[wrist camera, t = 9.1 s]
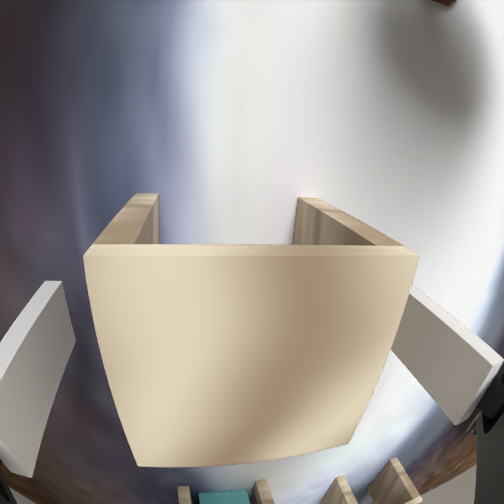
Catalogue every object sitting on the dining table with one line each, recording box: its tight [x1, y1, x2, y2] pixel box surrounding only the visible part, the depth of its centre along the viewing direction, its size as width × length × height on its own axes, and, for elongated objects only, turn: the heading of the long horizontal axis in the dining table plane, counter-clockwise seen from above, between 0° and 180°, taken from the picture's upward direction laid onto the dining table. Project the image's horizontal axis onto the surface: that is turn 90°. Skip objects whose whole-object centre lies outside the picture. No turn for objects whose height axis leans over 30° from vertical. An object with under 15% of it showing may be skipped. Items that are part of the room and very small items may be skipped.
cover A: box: [83, 193, 419, 467], centre depth 11 cm, size 8×8×7 cm
